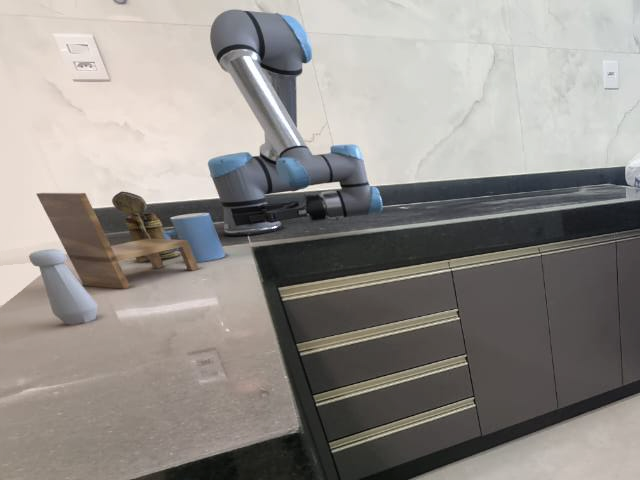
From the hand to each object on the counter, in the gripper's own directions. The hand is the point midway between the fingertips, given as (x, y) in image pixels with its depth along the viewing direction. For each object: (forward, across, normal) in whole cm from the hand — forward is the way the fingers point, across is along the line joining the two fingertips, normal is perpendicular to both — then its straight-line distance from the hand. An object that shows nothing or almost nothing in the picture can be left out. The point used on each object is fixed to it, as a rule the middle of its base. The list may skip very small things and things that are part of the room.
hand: (232, 217), depth 139 cm
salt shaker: (+27, -44, -10) cm, 53 cm away
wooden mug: (+19, +9, -10) cm, 23 cm away
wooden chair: (+21, -12, -9) cm, 25 cm away
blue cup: (+10, 0, -9) cm, 14 cm away
